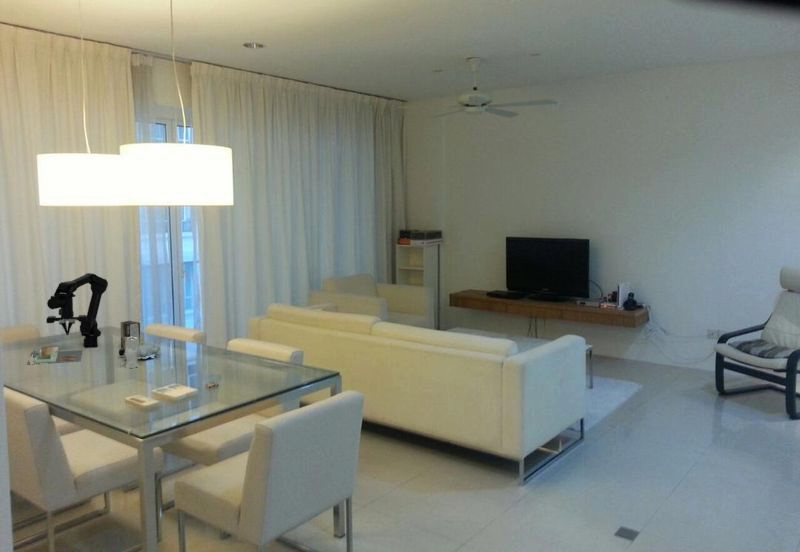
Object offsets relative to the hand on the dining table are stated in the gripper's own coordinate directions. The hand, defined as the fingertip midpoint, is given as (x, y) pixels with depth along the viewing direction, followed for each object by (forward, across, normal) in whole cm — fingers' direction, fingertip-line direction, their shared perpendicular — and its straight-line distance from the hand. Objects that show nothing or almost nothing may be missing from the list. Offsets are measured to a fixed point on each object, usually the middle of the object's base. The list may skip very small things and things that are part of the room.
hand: (67, 334), depth 327 cm
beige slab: (+10, +9, 0) cm, 14 cm away
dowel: (+10, +9, +12) cm, 18 cm away
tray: (+10, +9, +12) cm, 18 cm away
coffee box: (+11, -31, 0) cm, 33 cm away
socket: (+10, -1, +12) cm, 16 cm away
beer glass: (+11, -31, +34) cm, 47 cm away
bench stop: (+10, +14, 0) cm, 18 cm away
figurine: (+11, -35, +16) cm, 40 cm away
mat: (+11, +5, +6) cm, 13 cm away
